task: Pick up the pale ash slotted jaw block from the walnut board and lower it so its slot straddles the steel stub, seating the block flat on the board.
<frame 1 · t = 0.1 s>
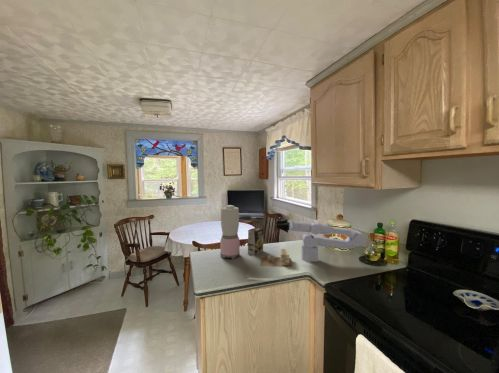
hand: (276, 224, 133), 22 cm above the worktop, tool horizontal, fingers open, 7 cm apart
coffee box: (255, 253, 144), on the worktop
blender: (230, 254, 142), on the worktop
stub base: (275, 263, 129), on the worktop
jaw block: (284, 261, 129), point 1 cm above the worktop, touching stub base
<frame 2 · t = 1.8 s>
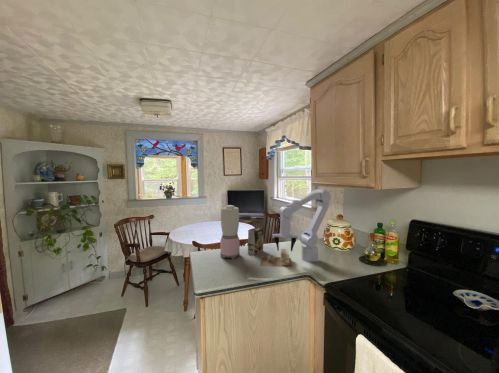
hand: (284, 250, 128), 8 cm above the worktop, tool pointing down, fingers open, 7 cm apart
nothing on the worktop moved.
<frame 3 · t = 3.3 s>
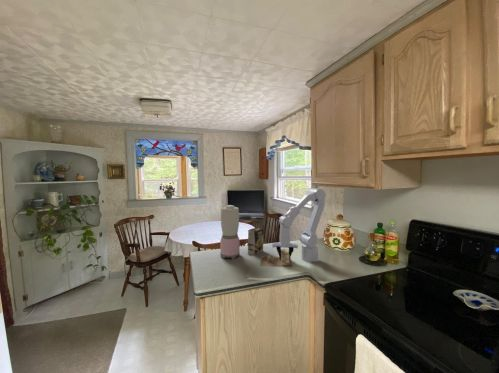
hand: (284, 259, 128), 2 cm above the worktop, tool pointing down, fingers closed on jaw block, 4 cm apart
jaw block: (284, 261, 129), point 1 cm above the worktop, touching gripper, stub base
everything else where it was.
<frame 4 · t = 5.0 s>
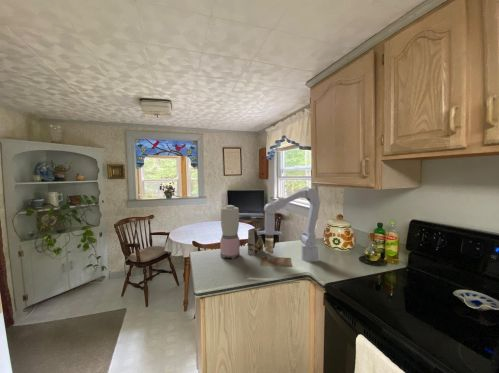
hand: (269, 247, 129), 9 cm above the worktop, tool pointing down, fingers closed on jaw block, 4 cm apart
jaw block: (269, 250, 129), point 7 cm above the worktop, touching gripper
everything else where it was.
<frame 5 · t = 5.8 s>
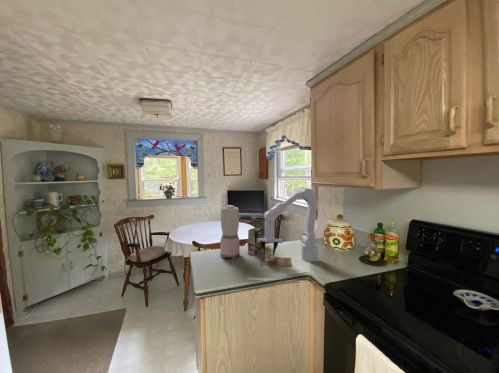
hand: (269, 254, 129), 5 cm above the worktop, tool pointing down, fingers closed on jaw block, 4 cm apart
jaw block: (269, 257, 129), point 3 cm above the worktop, touching gripper
everything else where it was.
when the fingers open (3 cm above the worktop, at t = 6.7 s): jaw block stays where it is, resting on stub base.
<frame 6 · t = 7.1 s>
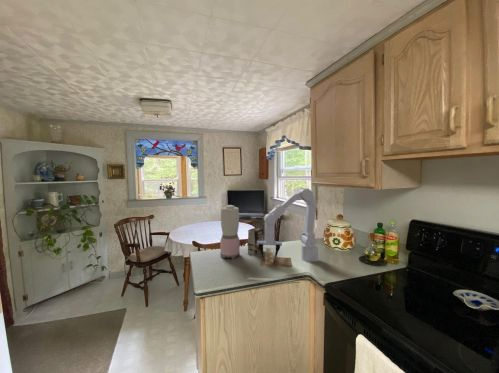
hand: (269, 257, 129), 3 cm above the worktop, tool pointing down, fingers open, 7 cm apart
jaw block: (269, 261, 129), point 1 cm above the worktop, touching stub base
everything else where it was.
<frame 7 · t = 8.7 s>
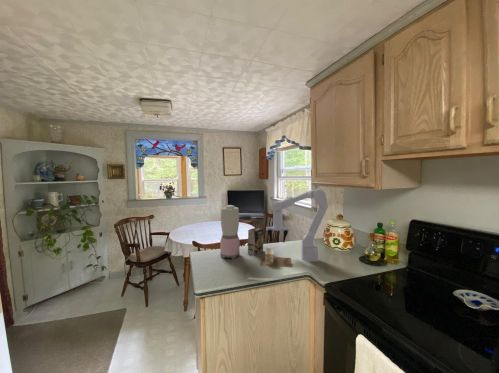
hand: (277, 242, 138), 9 cm above the worktop, tool pointing down, fingers open, 7 cm apart
nothing on the worktop moved.
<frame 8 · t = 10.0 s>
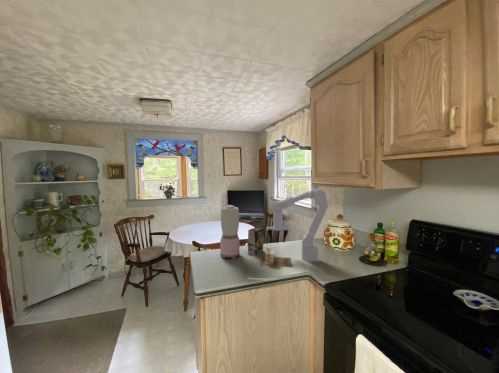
hand: (277, 241, 138), 9 cm above the worktop, tool pointing down, fingers open, 7 cm apart
nothing on the worktop moved.
at the end: jaw block 0.1 cm from the target spot on the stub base, point 1.0 cm above the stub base's base; jaw block tilted 0°; the gripper is holding nothing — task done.
